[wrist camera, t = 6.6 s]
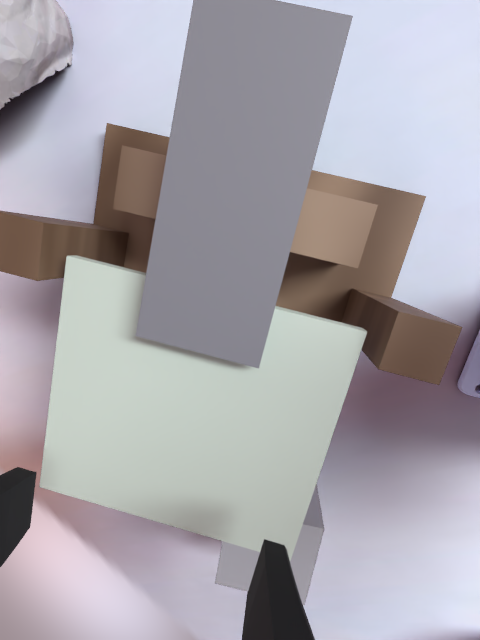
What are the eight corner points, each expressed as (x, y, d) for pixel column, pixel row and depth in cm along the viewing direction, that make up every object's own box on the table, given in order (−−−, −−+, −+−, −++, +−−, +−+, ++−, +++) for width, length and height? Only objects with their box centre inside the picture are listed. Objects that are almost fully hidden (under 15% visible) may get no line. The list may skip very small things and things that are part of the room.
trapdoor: (431, 87, 11) (475, 40, 9) (288, 525, 15) (291, 579, 13) (124, 22, 12) (84, -39, 9) (65, 461, 16) (25, 500, 14)
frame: (418, 199, 17) (530, 158, 9) (373, 331, 18) (439, 385, 11) (114, 128, 18) (-2, 41, 10) (96, 260, 19) (-16, 267, 12)
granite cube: (312, 462, 20) (324, 529, 15) (298, 523, 21) (304, 605, 16) (239, 446, 21) (228, 507, 16) (228, 508, 22) (214, 583, 17)
